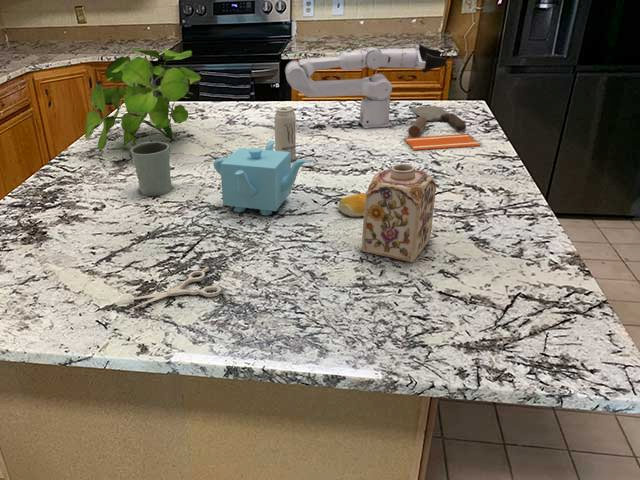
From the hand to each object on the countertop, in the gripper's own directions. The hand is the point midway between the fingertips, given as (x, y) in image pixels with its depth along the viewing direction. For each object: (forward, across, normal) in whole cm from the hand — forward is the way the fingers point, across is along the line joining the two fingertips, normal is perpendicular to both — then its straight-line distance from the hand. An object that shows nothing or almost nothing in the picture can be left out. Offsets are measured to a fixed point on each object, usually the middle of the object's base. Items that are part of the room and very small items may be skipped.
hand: (443, 58), depth 195 cm
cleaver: (+3, -1, +20) cm, 21 cm away
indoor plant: (-96, -12, +25) cm, 99 cm away
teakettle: (-59, -67, +16) cm, 91 cm away
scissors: (-77, -108, +13) cm, 134 cm away
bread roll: (-36, -72, +14) cm, 82 cm away
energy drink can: (-51, -34, +20) cm, 65 cm away
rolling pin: (-8, -13, +18) cm, 23 cm away
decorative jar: (-30, -92, +12) cm, 98 cm away
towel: (-3, -25, +18) cm, 31 cm away
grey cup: (-88, -54, +20) cm, 105 cm away
